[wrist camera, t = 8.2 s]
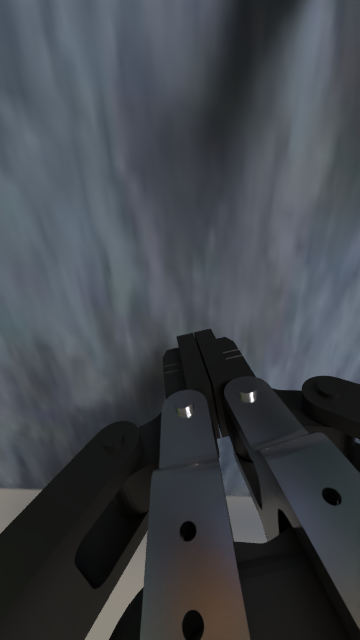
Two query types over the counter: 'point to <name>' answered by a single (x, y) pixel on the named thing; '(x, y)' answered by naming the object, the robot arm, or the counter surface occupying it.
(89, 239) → the counter surface
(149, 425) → the robot arm
